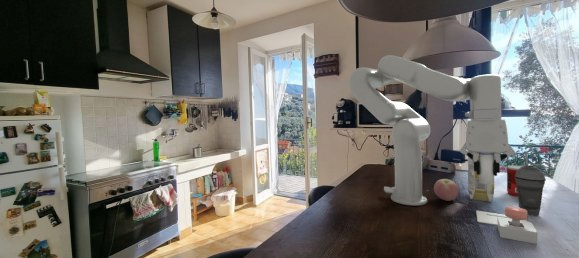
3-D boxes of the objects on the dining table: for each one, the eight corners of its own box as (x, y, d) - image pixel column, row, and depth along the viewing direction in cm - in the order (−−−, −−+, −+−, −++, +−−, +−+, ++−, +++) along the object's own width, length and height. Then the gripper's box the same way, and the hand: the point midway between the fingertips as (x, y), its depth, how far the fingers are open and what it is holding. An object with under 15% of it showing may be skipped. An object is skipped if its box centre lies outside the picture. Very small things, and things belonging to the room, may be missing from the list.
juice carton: (494, 203, 91) (494, 137, 90) (467, 199, 96) (467, 137, 95) (493, 196, 98) (493, 135, 97) (468, 193, 103) (468, 135, 102)
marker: (479, 183, 77) (478, 146, 77) (478, 180, 81) (478, 145, 80) (495, 184, 75) (494, 147, 75) (493, 182, 78) (493, 145, 78)
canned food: (540, 197, 95) (540, 168, 95) (518, 198, 96) (518, 169, 95) (521, 191, 103) (521, 165, 103) (502, 192, 103) (502, 165, 103)
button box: (500, 237, 66) (500, 226, 66) (497, 227, 72) (497, 217, 72) (536, 244, 62) (537, 232, 62) (530, 232, 68) (530, 222, 68)
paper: (477, 222, 76) (477, 220, 76) (476, 211, 84) (476, 210, 84) (532, 231, 69) (532, 229, 69) (524, 218, 77) (524, 217, 77)
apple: (431, 200, 96) (431, 180, 96) (437, 195, 101) (437, 176, 101) (455, 205, 90) (455, 183, 90) (460, 199, 96) (460, 179, 95)
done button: (506, 229, 67) (506, 210, 66) (504, 223, 70) (504, 205, 70) (528, 232, 64) (528, 213, 64) (525, 226, 68) (525, 208, 67)
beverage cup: (535, 219, 77) (535, 154, 76) (508, 210, 84) (509, 151, 83) (551, 216, 78) (552, 152, 78) (524, 208, 86) (524, 149, 85)
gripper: (453, 116, 79) (454, 174, 80) (524, 114, 70) (525, 179, 70) (453, 116, 85) (454, 170, 86) (519, 114, 76) (520, 174, 76)
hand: (486, 173), depth 78 cm, fingers closed on marker, 3 cm apart
